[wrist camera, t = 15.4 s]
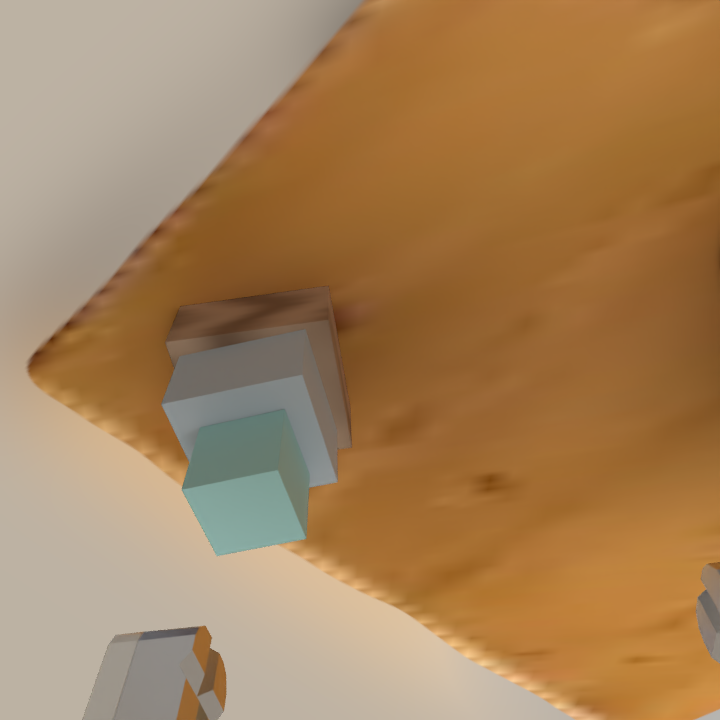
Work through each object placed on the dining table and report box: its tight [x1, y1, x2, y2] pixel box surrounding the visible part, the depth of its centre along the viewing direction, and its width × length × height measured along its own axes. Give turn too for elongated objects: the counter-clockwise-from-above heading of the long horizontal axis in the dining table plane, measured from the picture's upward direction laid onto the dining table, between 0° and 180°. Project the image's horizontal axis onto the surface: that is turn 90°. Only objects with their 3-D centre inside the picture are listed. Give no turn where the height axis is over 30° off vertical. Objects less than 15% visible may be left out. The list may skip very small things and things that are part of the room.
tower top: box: [161, 329, 338, 488], centre depth 40 cm, size 8×8×5 cm
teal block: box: [182, 409, 310, 556], centre depth 36 cm, size 5×5×5 cm
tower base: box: [165, 286, 352, 449], centre depth 44 cm, size 10×10×5 cm
